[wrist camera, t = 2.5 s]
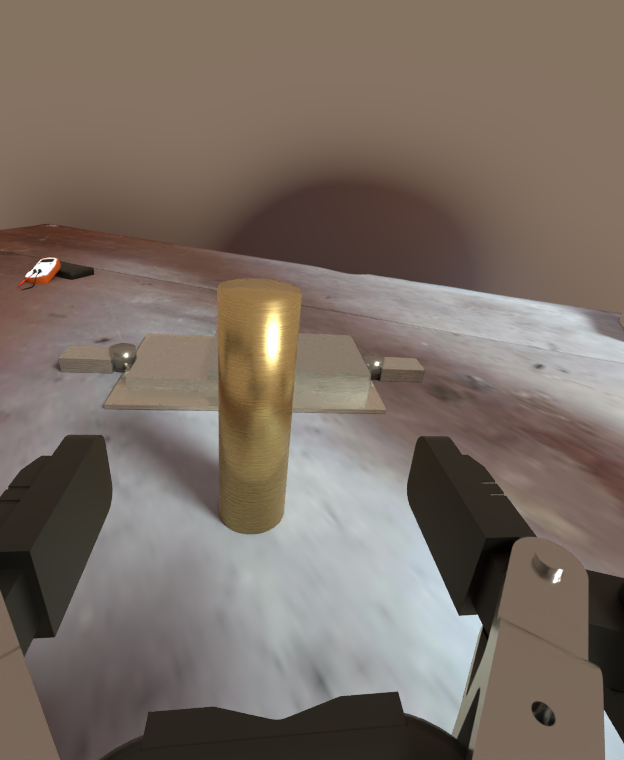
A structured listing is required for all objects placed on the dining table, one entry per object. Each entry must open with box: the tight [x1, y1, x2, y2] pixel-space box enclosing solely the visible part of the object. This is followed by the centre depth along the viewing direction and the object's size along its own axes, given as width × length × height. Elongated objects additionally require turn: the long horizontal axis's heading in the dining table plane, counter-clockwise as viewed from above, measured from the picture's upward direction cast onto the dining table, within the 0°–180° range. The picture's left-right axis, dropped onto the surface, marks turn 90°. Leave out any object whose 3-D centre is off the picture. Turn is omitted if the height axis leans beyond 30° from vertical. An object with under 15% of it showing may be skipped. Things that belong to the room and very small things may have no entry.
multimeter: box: [19, 257, 94, 290], centre depth 64 cm, size 18×12×3 cm, turn 155°
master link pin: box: [217, 279, 302, 534], centre depth 24 cm, size 4×4×14 cm
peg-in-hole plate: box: [58, 330, 425, 414], centre depth 44 cm, size 36×16×2 cm, turn 97°
